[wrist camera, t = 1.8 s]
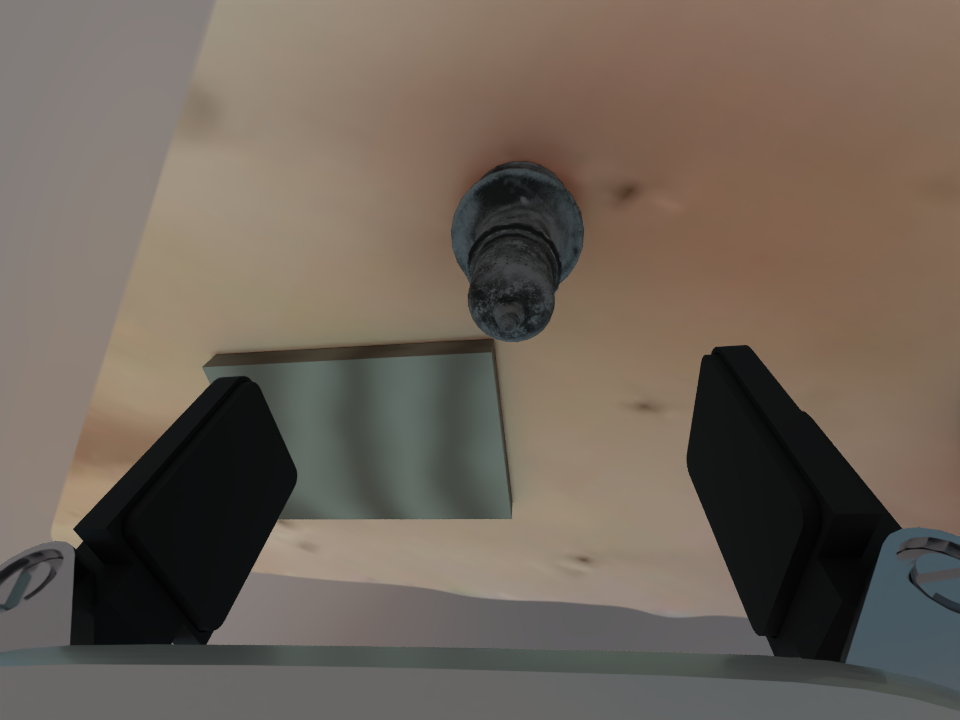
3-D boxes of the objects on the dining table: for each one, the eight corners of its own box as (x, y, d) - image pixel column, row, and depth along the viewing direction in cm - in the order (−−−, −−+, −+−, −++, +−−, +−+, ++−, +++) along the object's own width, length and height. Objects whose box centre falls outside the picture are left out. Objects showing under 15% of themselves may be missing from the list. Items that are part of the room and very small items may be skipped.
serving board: (493, 339, 28) (491, 352, 27) (512, 502, 35) (511, 518, 34) (215, 354, 30) (202, 367, 29) (287, 503, 38) (278, 519, 36)
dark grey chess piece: (527, 291, 26) (525, 436, 16) (439, 228, 25) (374, 343, 14) (602, 204, 23) (657, 313, 13) (507, 126, 22) (485, 182, 12)
